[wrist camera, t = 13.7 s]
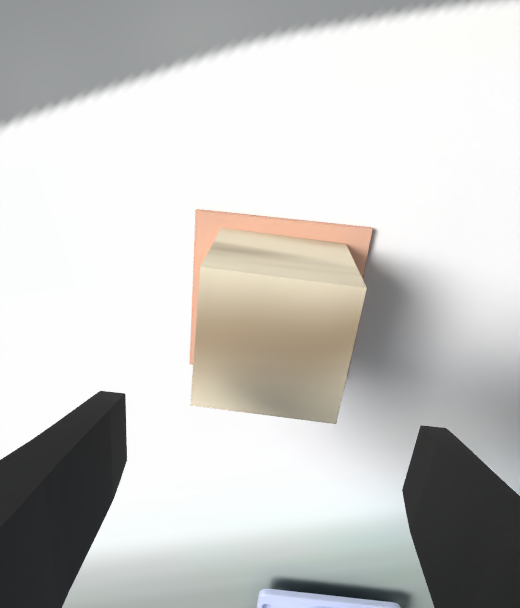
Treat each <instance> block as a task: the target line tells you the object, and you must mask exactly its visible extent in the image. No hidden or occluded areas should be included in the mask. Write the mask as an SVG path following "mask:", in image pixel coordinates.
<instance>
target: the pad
mask: <svg viewBox="0 0 520 608" xmlns="http://www.w3.org/2000/svg"><path fill="white" fill-rule="evenodd" d="M221 227H222V228H229V229H237V230H245V231H253V232H260V233H268V234H276V235H284V236H291V237H299V238H307V239H315V240H322V241H330V242H338V243H346V245H347V247H348V249H349V252H350V254H351V256H352V258H353V260H354V262H355V264H356V266H357V268H358V271H359V273H360V275H361V277H362V279H363V276H364V270H365V265H366V260H367V255H368V250H369V245H370V240H371V235H372V230H373V229H372V228H371V227H361V226H352V225H342V224H333V223H323V222H313V221H304V220H294V219H285V218H275V217H266V216H256V215H246V214H237V213H227V212H218V211H208V210H199V209H197V210H196V216H195V242H194V267H193V293H192V319H191V345H190V364H193V363H194V349H195V335H196V321H197V307H198V293H199V278H200V266H201V265H202V263H203V261H204V259H205V257H206V255H207V253H208V252H209V250H210V248H211V246H212V244H213V242H214V240H215V238H216V237H217V235H218V233H219V231H220V229H221Z"/></svg>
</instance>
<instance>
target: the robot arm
mask: <svg viewBox="0 0 520 608" xmlns="http://www.w3.org/2000/svg"><path fill="white" fill-rule="evenodd" d="M126 461H127V445H126V405H125V394H124V393H114V392H105V391H100V392H98V393H97V394H95V395H94V396H93V397H91V398H90V399H88V400H87V401H86V402H84V403H83V404H81V405H80V406H79V407H77V408H76V409H75V410H73V411H72V412H71V413H69V414H68V415H66V416H65V417H64V418H62V419H61V420H59V421H58V422H57V423H55V424H54V425H52V426H51V427H50V428H48V429H47V430H45V431H44V432H42V433H41V434H40V435H38V436H37V437H35V438H34V439H32V440H31V441H29V442H28V443H26V444H25V445H23V446H21V447H20V448H18V449H17V450H15V451H14V452H12V453H11V454H9V455H7V456H6V457H4V458H3V459H1V460H0V608H62V606H63V604H64V601H65V599H66V597H67V595H68V592H69V590H70V588H71V586H72V584H73V582H74V580H75V578H76V576H77V574H78V572H79V570H80V568H81V565H82V563H83V561H84V559H85V557H86V555H87V553H88V551H89V549H90V547H91V545H92V543H93V541H94V539H95V537H96V535H97V533H98V531H99V529H100V526H101V524H102V522H103V520H104V518H105V516H106V514H107V512H108V510H109V508H110V505H111V503H112V501H113V499H114V496H115V493H116V491H117V488H118V485H119V482H120V479H121V476H122V473H123V470H124V467H125V464H126ZM402 491H403V496H404V502H405V508H406V513H407V518H408V523H409V528H410V532H411V536H412V539H413V542H414V545H415V549H416V552H417V555H418V558H419V561H420V564H421V567H422V570H423V574H424V577H425V580H426V583H427V586H428V589H429V592H430V595H431V598H432V601H433V604H434V607H435V608H520V496H519V495H518V494H517V493H516V492H515V491H513V490H512V489H511V488H510V487H509V486H508V485H507V484H506V483H505V482H504V481H502V480H501V479H500V478H499V477H498V476H497V475H496V474H495V473H494V472H493V471H492V470H491V469H490V468H489V467H487V466H486V465H485V464H484V463H483V462H482V461H481V460H480V459H479V458H478V457H477V456H476V455H475V454H474V453H473V452H472V451H471V450H470V449H468V448H467V447H466V446H465V445H464V444H463V443H462V442H461V441H460V440H459V439H458V438H457V437H456V436H454V435H453V434H452V433H451V432H450V431H449V430H448V429H446V428H439V427H430V426H421V427H420V430H419V434H418V437H417V441H416V444H415V448H414V451H413V455H412V458H411V462H410V465H409V469H408V472H407V476H406V479H405V483H404V486H403V490H402ZM257 608H401V607H400V605H399V604H397V603H394V602H386V601H377V600H368V599H358V598H349V597H340V596H331V595H322V594H313V593H304V592H295V591H286V590H277V589H263V590H261V591H260V592H259V596H258V603H257Z"/></svg>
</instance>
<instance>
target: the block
mask: <svg viewBox="0 0 520 608" xmlns="http://www.w3.org/2000/svg"><path fill="white" fill-rule="evenodd" d="M366 290H367V287H366V285H365V283H364V281H363V279H362V277H361V275H360V273H359V271H358V268H357V266H356V264H355V262H354V260H353V258H352V256H351V254H350V252H349V249H348V247H347V245H346V243H338V242H330V241H322V240H315V239H307V238H299V237H291V236H284V235H276V234H268V233H260V232H253V231H245V230H237V229H229V228H222V227H221V229H220V231H219V233H218V235H217V237H216V238H215V240H214V242H213V244H212V246H211V248H210V250H209V252H208V253H207V255H206V257H205V259H204V261H203V263H202V265H201V266H200V278H199V293H198V307H197V321H196V335H195V349H194V363H193V378H192V392H191V406H199V407H207V408H215V409H223V410H231V411H238V412H246V413H254V414H262V415H270V416H278V417H285V418H293V419H301V420H309V421H317V422H325V423H332V424H336V422H337V417H338V413H339V409H340V404H341V400H342V395H343V391H344V387H345V382H346V378H347V373H348V369H349V365H350V360H351V356H352V352H353V347H354V343H355V338H356V334H357V330H358V325H359V321H360V316H361V312H362V308H363V303H364V299H365V294H366Z"/></svg>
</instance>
